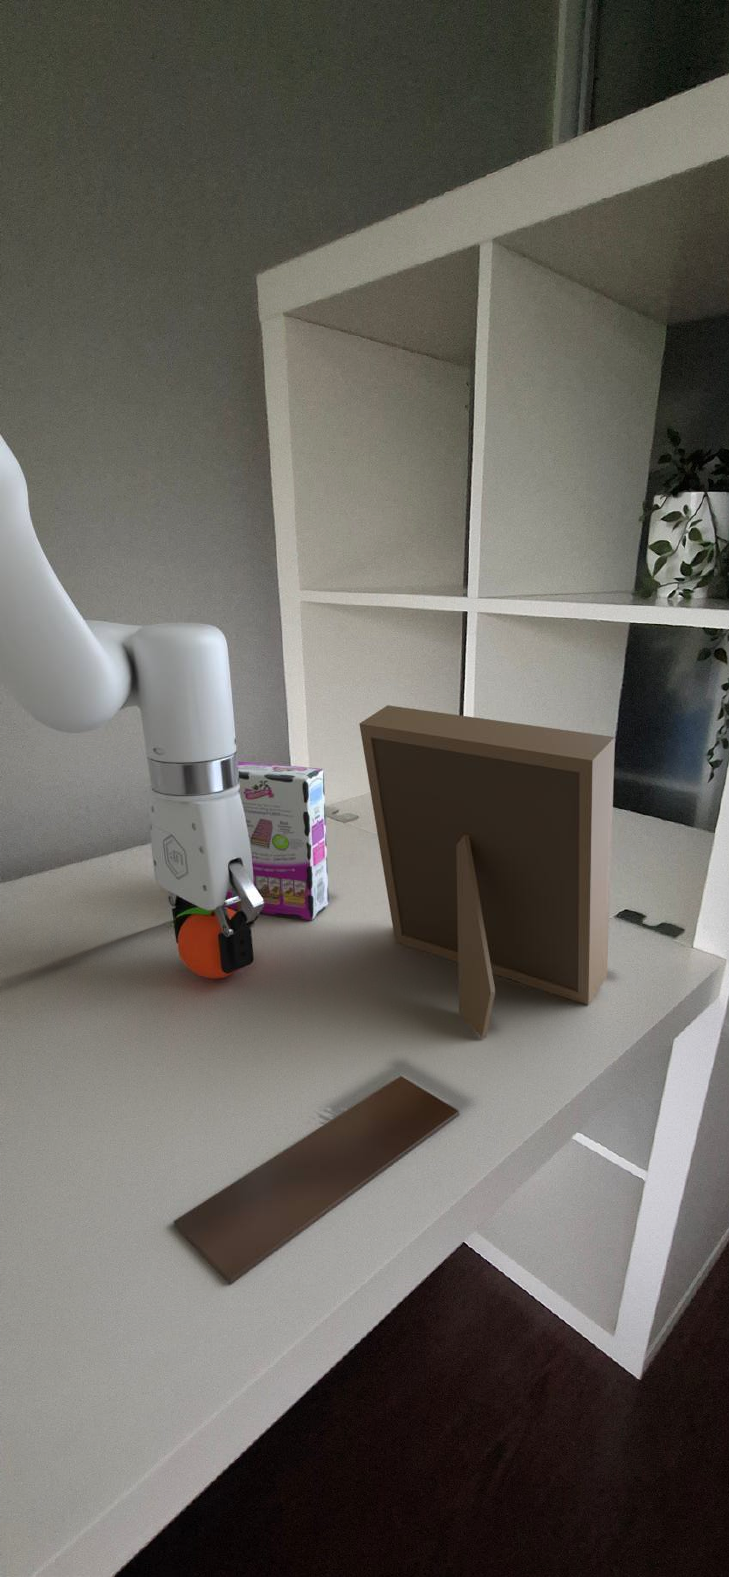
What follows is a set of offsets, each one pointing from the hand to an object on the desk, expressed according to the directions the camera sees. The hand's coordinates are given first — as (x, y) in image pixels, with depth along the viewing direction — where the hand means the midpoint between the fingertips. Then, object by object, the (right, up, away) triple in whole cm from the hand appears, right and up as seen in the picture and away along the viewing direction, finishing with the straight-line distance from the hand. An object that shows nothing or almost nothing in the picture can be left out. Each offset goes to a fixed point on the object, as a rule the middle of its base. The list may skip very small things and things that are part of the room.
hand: (214, 952), depth 75 cm
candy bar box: (+3, +4, +15) cm, 16 cm away
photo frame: (+24, -3, 0) cm, 25 cm away
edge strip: (+13, -13, -22) cm, 29 cm away
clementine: (0, -2, +1) cm, 3 cm away
